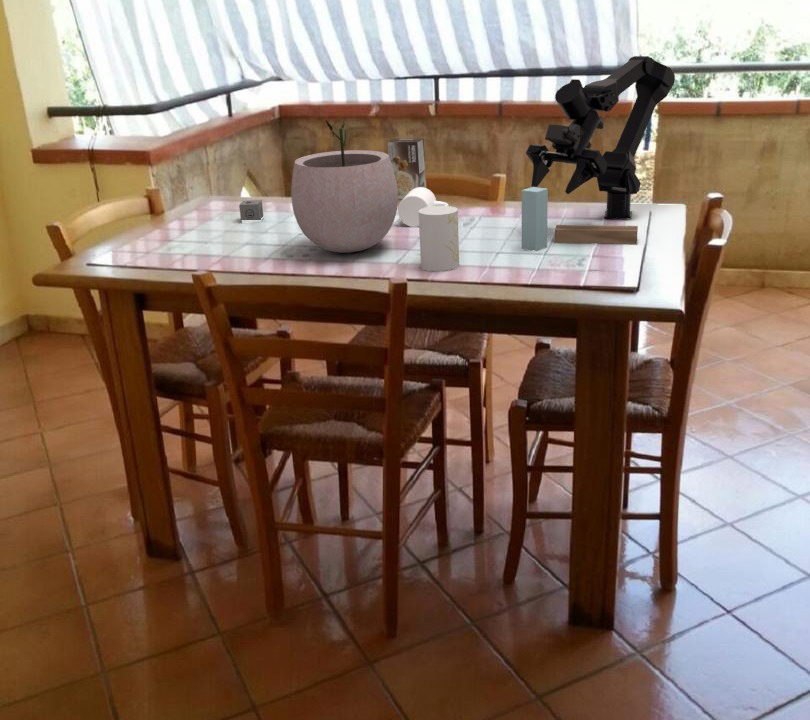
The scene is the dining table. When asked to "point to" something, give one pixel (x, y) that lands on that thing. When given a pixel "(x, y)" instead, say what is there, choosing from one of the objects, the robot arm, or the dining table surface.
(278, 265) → the dining table surface
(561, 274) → the dining table surface
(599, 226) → the beam
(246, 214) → the dice cube
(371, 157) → the plant pot
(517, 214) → the dining table surface
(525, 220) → the post
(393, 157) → the coffee box
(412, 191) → the mug
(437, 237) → the white cylinder
